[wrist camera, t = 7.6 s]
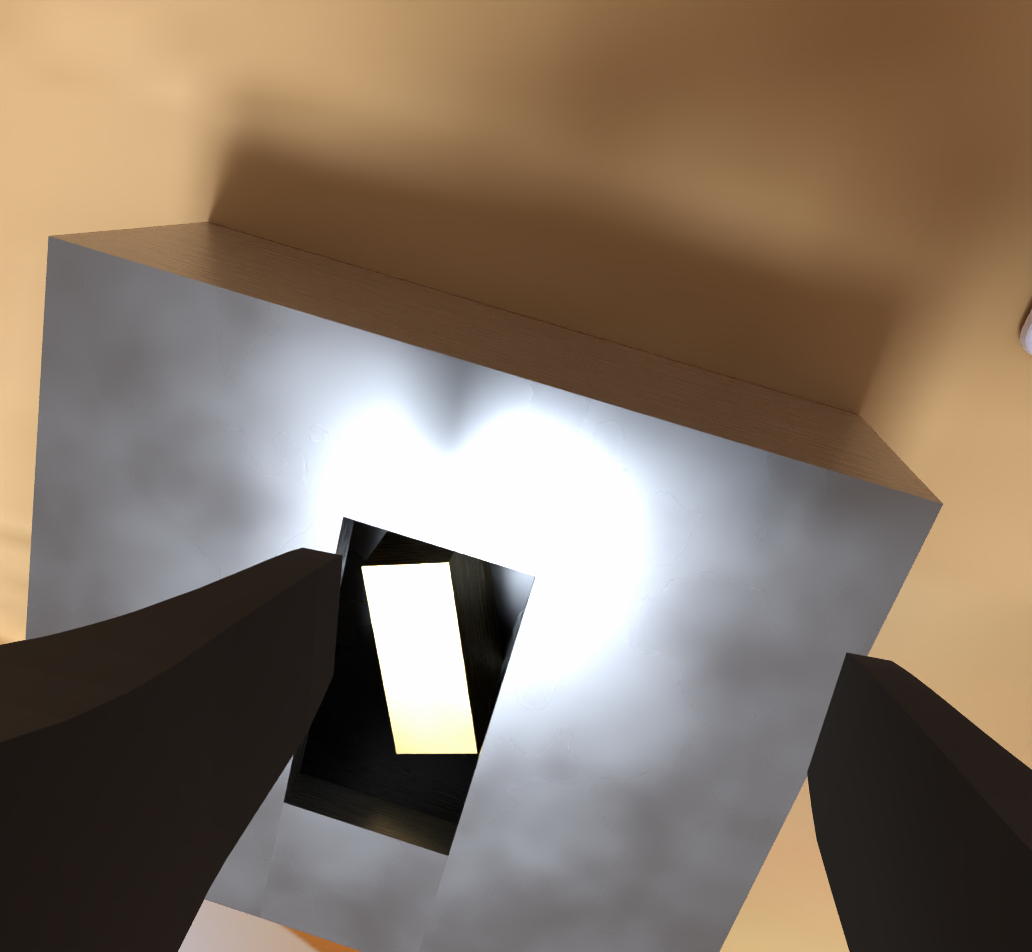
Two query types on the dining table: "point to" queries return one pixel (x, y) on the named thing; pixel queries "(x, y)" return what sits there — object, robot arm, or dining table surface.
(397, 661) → the block
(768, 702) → the coin box
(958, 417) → the dining table surface
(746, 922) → the dining table surface
